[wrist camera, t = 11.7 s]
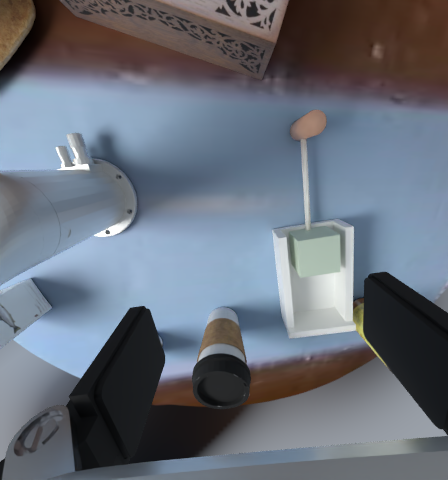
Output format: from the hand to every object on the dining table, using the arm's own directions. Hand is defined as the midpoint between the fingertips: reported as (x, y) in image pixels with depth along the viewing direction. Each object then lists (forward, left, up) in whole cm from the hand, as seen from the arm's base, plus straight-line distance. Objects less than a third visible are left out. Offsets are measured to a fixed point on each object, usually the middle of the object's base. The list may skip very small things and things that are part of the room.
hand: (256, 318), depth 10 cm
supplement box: (+11, -43, -28) cm, 53 cm away
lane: (+14, +11, -28) cm, 33 cm away
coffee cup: (+22, -6, -28) cm, 36 cm away
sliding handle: (0, +11, -28) cm, 30 cm away
